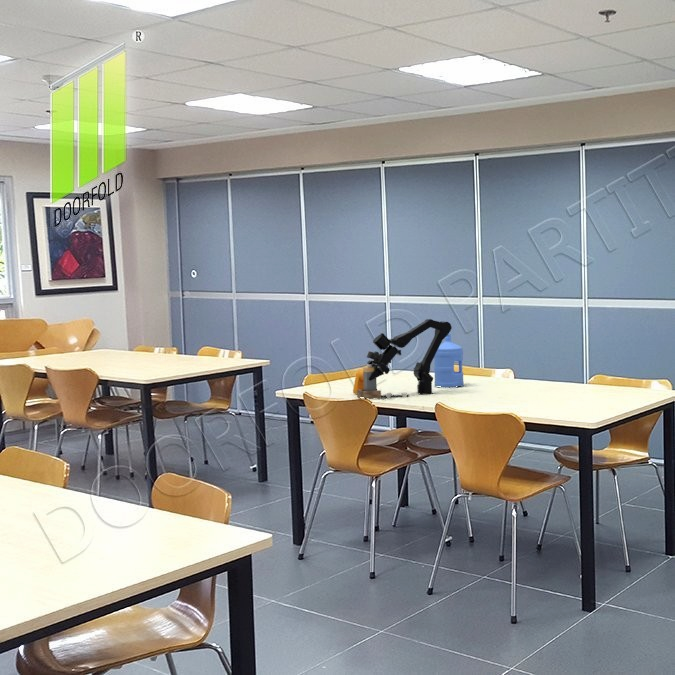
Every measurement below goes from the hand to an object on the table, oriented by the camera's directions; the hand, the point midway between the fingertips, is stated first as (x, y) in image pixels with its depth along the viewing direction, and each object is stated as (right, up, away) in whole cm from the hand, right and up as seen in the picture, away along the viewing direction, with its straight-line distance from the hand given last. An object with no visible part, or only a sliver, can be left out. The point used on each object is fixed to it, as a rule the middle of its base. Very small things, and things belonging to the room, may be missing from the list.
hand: (367, 379), depth 459 cm
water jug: (+45, -6, +38) cm, 59 cm away
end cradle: (+1, -9, +1) cm, 9 cm away
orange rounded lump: (-1, -9, +16) cm, 18 cm away
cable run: (+13, -9, 0) cm, 16 cm away
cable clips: (+14, -9, -1) cm, 17 cm away
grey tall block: (+1, -7, +1) cm, 7 cm away
